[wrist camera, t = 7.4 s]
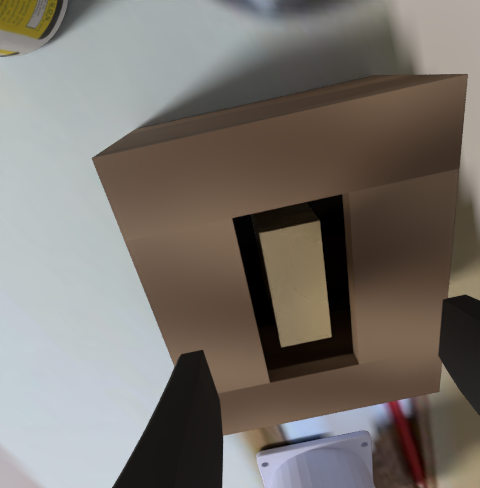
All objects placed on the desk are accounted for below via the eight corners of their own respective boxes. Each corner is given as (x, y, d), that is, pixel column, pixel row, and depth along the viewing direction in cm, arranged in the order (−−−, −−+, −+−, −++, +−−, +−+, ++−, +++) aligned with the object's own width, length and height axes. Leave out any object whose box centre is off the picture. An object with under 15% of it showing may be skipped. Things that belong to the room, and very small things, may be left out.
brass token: (301, 271, 18) (331, 337, 13) (263, 279, 18) (281, 347, 13) (288, 179, 15) (319, 220, 11) (245, 188, 16) (259, 233, 11)
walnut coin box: (379, 309, 19) (439, 391, 14) (206, 345, 19) (203, 439, 14) (374, 75, 14) (468, 73, 9) (135, 129, 14) (91, 158, 9)
